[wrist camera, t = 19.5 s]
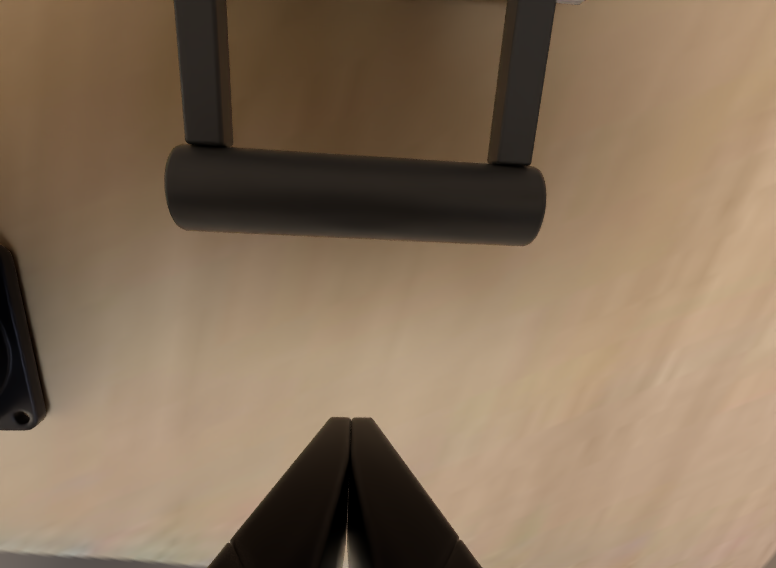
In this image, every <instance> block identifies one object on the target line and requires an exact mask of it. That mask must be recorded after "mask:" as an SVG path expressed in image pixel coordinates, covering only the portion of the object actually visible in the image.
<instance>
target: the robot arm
mask: <svg viewBox="0 0 776 568" xmlns="http://www.w3.org/2000/svg"><path fill="white" fill-rule="evenodd" d="M24 412H25V413H26V414H28V416H29V417H28V416H27V415H25V413H24ZM45 417H46V408H45V404H44V399H43V394H42V390H41V385H40V381H39V376H38V371H37V367H36V362H35V358H34V353H33V348H32V344H31V339H30V334H29V330H28V325H27V321H26V316H25V311H24V307H23V302H22V297H21V293H20V288H19V284H18V279H17V274H16V270H15V265H14V261H13V257H12V255H11V253H10V252H9V251H8V250H7V249H6V248H5V247H4V246H2V245H0V430H30V429H32V428H34V427H35V426H36V425H38V424H39V423H40V422H41V421H43V420H44V418H45ZM350 439H351V440H350ZM348 489H349V492H348ZM347 513H348V519H347ZM346 533H347V549H348V564H349V568H482V567H481V566H480V564H479V563H478V562H477V560H476V559H475V558H474V556H473V555H472V554H471V552H470V551H469V550H468V548H467V547H466V545H465V544H464V543H463V541H462V540H459V536H458V535H457V533H456V532H455V531H454V529H453V528H452V527H451V525H450V524H449V522H448V521H447V520H446V518H445V517H444V516H443V514H442V513H441V512H440V510H439V509H438V507H437V506H436V505H435V503H434V502H433V501H432V499H431V498H430V496H429V495H428V494H427V492H426V491H425V490H424V488H423V487H422V486H421V484H420V483H419V481H418V480H417V479H416V477H415V476H414V475H413V473H412V472H411V471H410V469H409V468H408V466H407V465H406V464H405V462H404V461H403V460H402V458H401V457H400V456H399V454H398V453H397V451H396V450H395V449H394V447H393V446H392V445H391V443H390V442H389V441H388V439H387V438H386V436H385V435H384V434H383V432H382V431H381V430H380V428H379V427H378V425H377V424H376V423H375V421H374V420H373V419H372V418H353V419H352V421H351V419H350V418H348V417H332V418H330V419H329V420H328V421H327V422H326V424H325V425H324V426H323V427H322V428H321V430H320V431H319V432H318V433H317V435H316V436H315V437H314V438H313V439H312V441H311V442H310V443H309V444H308V446H307V447H306V448H305V449H304V450H303V452H302V453H301V454H300V455H299V457H298V458H297V459H296V460H295V461H294V463H293V464H292V465H291V466H290V468H289V469H288V470H287V471H286V472H285V474H284V475H283V476H282V477H281V479H280V480H279V481H278V482H277V483H276V485H275V486H274V487H273V488H272V490H271V491H270V492H269V493H268V494H267V496H266V497H265V498H264V499H263V501H262V502H261V503H260V504H259V506H258V507H257V508H256V509H255V510H254V512H253V513H252V514H251V515H250V517H249V518H248V519H247V520H246V521H245V523H244V524H243V525H242V526H241V528H240V529H239V530H238V531H237V532H236V534H235V535H234V536H233V537H232V539H231V540H230V543H227V544H226V545H225V547H224V548H223V549H222V550H221V552H220V553H219V554H218V555H217V557H216V558H215V559H214V560H213V561H212V563H211V564H210V565H209V566H208V567H207V568H342V566H343V560H344V553H345V545H346Z"/></svg>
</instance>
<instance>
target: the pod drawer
mask: <svg viewBox="0 0 776 568" xmlns="http://www.w3.org/2000/svg"><path fill="white" fill-rule="evenodd" d="M584 1H585V0H507V7H506V15H505V23H504V31H503V39H502V47H501V55H500V63H499V71H498V79H497V87H496V95H495V103H494V111H493V119H492V127H491V135H490V143H489V151H488V159H487V161H488V163H489V164H487V163H471V162H455V161H439V160H424V159H408V158H392V157H376V156H360V155H345V154H329V153H313V152H297V151H281V150H266V149H250V148H234V147H231V146H232V145H233V128H232V107H231V87H230V67H229V47H228V27H227V6H226V0H174V9H175V21H176V34H177V46H178V58H179V70H180V82H181V94H182V107H183V119H184V131H185V140H186V142H187V143H188V144H191V145H187V144H181V145H179V146H176V147H175V148H173V150H172V151H171V152H170V154H169V157H168V159H167V163H166V168H165V195H166V201H167V205H168V209H169V212H170V214H171V216H172V218H173V220H174V222H175V223H176V224H177V225H178V226H179V227H180V228H182V229H184V230H187V231H208V232H229V233H251V234H272V235H293V236H315V237H336V238H358V239H379V240H401V241H422V242H443V243H465V244H486V245H508V246H525V245H528V244H530V243H531V242H532V241H533V240H534V239H535V238H536V236H537V234H538V232H539V230H540V228H541V225H542V222H543V218H544V214H545V207H546V186H545V181H544V177H543V175H542V173H541V172H540V170H539V169H537V168H535V167H532V166H528V165H530V164H531V161H532V154H533V148H534V141H535V135H536V128H537V122H538V116H539V109H540V103H541V96H542V90H543V83H544V77H545V71H546V64H547V58H548V51H549V45H550V38H551V32H552V25H553V19H554V13H555V6H556V3H564V4H574V5H579V4H581V3H582V2H584Z"/></svg>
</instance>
